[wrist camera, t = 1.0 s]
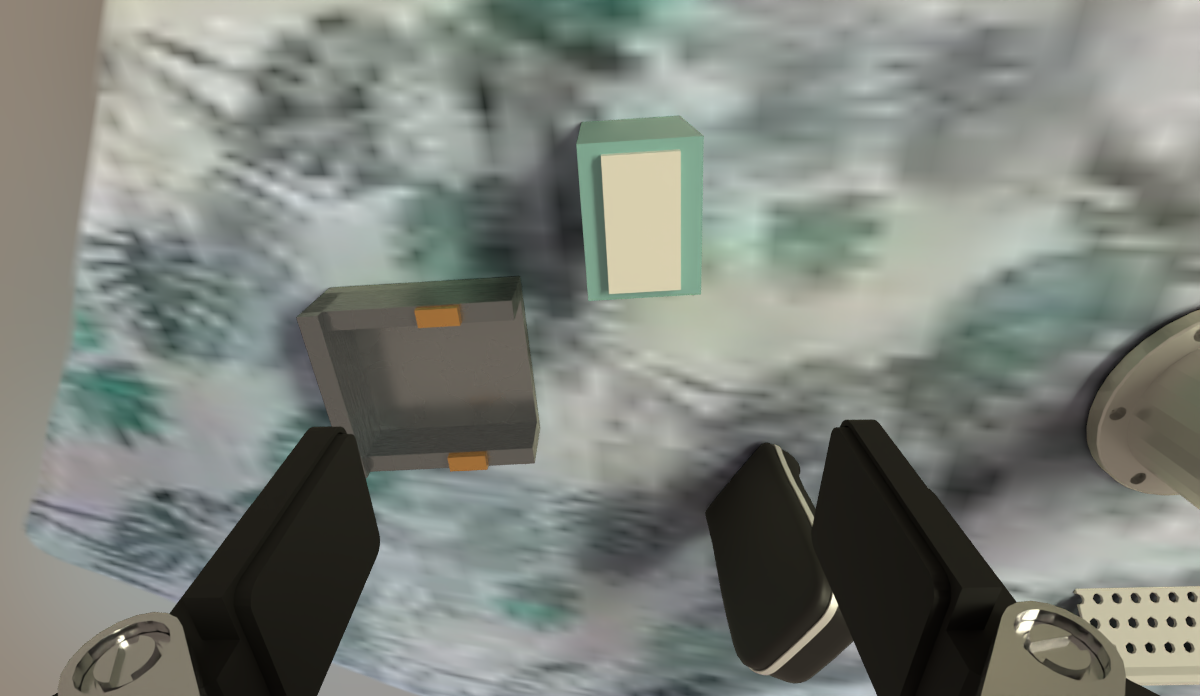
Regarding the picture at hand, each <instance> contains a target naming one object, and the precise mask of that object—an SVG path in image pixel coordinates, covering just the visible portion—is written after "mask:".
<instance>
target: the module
mask: <svg viewBox="0 0 1200 696" xmlns="http://www.w3.org/2000/svg"><path fill="white" fill-rule="evenodd" d="M703 139H704V136H703V135H702V134H701V133H700V132H698V131H697V130H696V129H695V128H694V127H693V126H691V125H690V124H689V123H688V122H687V121H685V120H684V119H683V118H682V117H681V116H666V117H651V118H636V119H622V120H607V121H592V122H582V123H581V127H580V131H579V135H578V139H577V143H576V148H577V161H578V173H579V186H580V199H581V212H582V225H583V238H584V251H585V264H586V277H587V289H588V301H595V300H612V299H629V298H646V297H663V296H681V295H698V294H701V264H702V201H703Z"/></svg>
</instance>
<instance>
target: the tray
mask: <svg viewBox="0 0 1200 696" xmlns="http://www.w3.org/2000/svg"><path fill="white" fill-rule="evenodd" d="M296 318H297V321H298V324H299V327H300V330H301V334H302V337H303V340H304V343H305V346H306V349H307V352H308V355H309V358H310V361H311V364H312V367H313V370H314V373H315V376H316V380H317V383H318V386H319V389H320V392H321V395H322V398H323V401H324V404H325V407H326V410H327V413H328V416H329V419H330V422H331V425H332V427H339V426H341V427H343V428H344V429H345V430H346V432H347V434H353V435H354V436H355V438H356V441H357V445H358V449H359V454H360V458H361V462H362V466H363V470H364V474H365V478H367V477H368V475H369V473H370V472H373V471H392V470H412V469H432V468H450V471H469V470H487V469H488V466H491V465H511V464H530V463H535V458H536V452H537V445H538V439H539V433H540V423H539V415H538V408H537V400H536V392H535V385H534V377H533V370H532V362H531V355H530V347H529V340H528V332H527V324H526V317H525V309H524V302H523V294H522V287H521V279H520V276H515V277H498V278H482V279H465V280H448V281H432V282H415V283H398V284H382V285H365V286H348V287H332V288H329V289H328V290H326V291H325V292H324V293H323V294H322V295H321V296H320V297H319V298H317V299H316V300H315V301H314V302H313V303H312V304H311V305H310V306H308V307H307V308H306V309H305V310H304V311H303V312H302V313H301V314H299V315H298V316H297V317H296Z"/></svg>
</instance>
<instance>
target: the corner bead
mask: <svg viewBox="0 0 1200 696" xmlns="http://www.w3.org/2000/svg"><path fill="white" fill-rule="evenodd" d="M1151 592H1153V593H1154V594H1155V595H1156V596H1157V602H1156V603H1154V602H1152V601H1151V600H1150V596H1149V595H1150V594H1151ZM1170 592H1172V593H1174V595H1175V596H1176V600H1175V602H1172V601H1170V600H1169V596H1168V594H1169V593H1170ZM1188 592H1192V593H1193V595H1194V596H1195V599H1194V602H1191V601H1190V600H1188V596H1187V594H1188ZM1114 593H1116V594H1117V595H1118V597H1119V598H1120V600H1119V603H1115V602H1113V600H1112V595H1113V594H1114ZM1132 593H1135V594H1136V595H1137V596H1138V603H1134V602H1133V601H1132V600H1131V596H1130V595H1131V594H1132ZM1074 594H1079V595H1080V596H1081V597H1082V603H1081V604H1077V607H1078V611H1079V615H1080V618H1082V619H1084V620H1086V621H1087V622H1088V623H1090V620H1091V619H1092V618H1094V619H1096V620H1097V622H1098V627H1097V628H1096V629H1098V630H1099V631H1100V632H1101V633H1102V634H1103V635H1104V636H1105V637H1106V638H1107V639H1108V640H1109V641H1110V642H1111V643H1112V644H1113V645H1114V646H1115V648H1116V649H1117V651H1118V653H1119V654H1120V656H1121V658H1122V659H1123V662H1124V667H1125V672H1126V678H1127V679H1129V680H1131V681H1133V682H1135V683H1137V684H1138V685H1194V684H1200V586H1197V587H1149V588H1100V589H1075V591H1074ZM1094 594H1098V595H1099V596H1100V598H1101V602H1100V603H1099V604H1096V602H1095V601H1094V600H1093V596H1094ZM1188 616H1189V617H1190V618H1192V621H1193V623H1194V624H1193V625H1192V626H1191V627H1190V626H1188V625H1187V624H1186V620H1185V619H1186V618H1187V617H1188ZM1131 617H1132V618H1133V619H1135V622H1136V626H1135V628H1132V627H1131V626H1129V623H1128V619H1130V618H1131ZM1149 617H1151V618H1152V619H1154V621H1155V626H1154V627H1150V626H1149V625H1148V622H1147V619H1148V618H1149ZM1168 617H1170V618H1172V619H1173V620H1174V626H1173V627H1170V626H1168V624H1167V621H1166V619H1167V618H1168ZM1111 618H1113V619H1115V620H1116V621H1117V626H1116V628H1112V627H1111V626H1110V624H1109V620H1110V619H1111ZM1148 642H1149V643H1150V644H1151V645H1152V647H1153V651H1152V652H1151V653H1149V652H1147V651H1146V648H1145V644H1147V643H1148ZM1167 642H1169V643H1170V644H1171V646H1172V651H1171V652H1167V651H1166V650H1165V647H1164V644H1165V643H1167ZM1185 642H1188V643H1190V645H1191V648H1192V649H1191V651H1190V652H1187V651H1186V650H1185V648H1184V645H1183V644H1184V643H1185ZM1128 643H1131V644H1132V645H1133V649H1134V651H1133V652H1132V653H1129V652H1127V649H1126V646H1125V645H1127V644H1128Z"/></svg>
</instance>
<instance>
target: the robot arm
mask: <svg viewBox="0 0 1200 696" xmlns="http://www.w3.org/2000/svg"><path fill="white" fill-rule="evenodd" d="M1086 429H1087V443H1088V446H1089V449H1090V452H1091V455H1092V457H1093V458H1094V460H1095V461H1096V462H1097V464H1098V465H1099V466H1100V468H1102V469H1103V470H1104V471H1105V472H1107V473H1108V474H1109V475H1110V476H1111V477H1112V478H1114V479H1115V480H1116V481H1117V482H1119V483H1121V484H1122V485H1124V486H1126V487H1128V488H1130V489H1133V490H1136V491H1140V492H1143V493H1147V494H1157V495H1181V496H1182V497H1184V498H1185V499H1186V500H1187V501H1189V502H1190V503H1191V504H1193V505H1194V506H1195V507H1197V508H1198V509H1199V510H1200V310H1197V311H1195V312H1192V313H1190V314H1188V315H1186V316H1184V317H1182V318H1180V319H1178V320H1176V321H1174V322H1172V323H1170V324H1168V325H1166V326H1164V327H1163V328H1161V329H1160V330H1158V331H1157V332H1155V333H1154V334H1152V335H1151V336H1149V337H1148V338H1146V339H1145V340H1144V341H1142V342H1141V343H1140V344H1139V345H1138V346H1137V347H1135V348H1134V349H1133V350H1132V351H1131V352H1130V353H1128V354H1127V355H1126V356H1125V357H1124V358H1123V359H1122V360H1121V362H1120V363H1119V364H1118V365H1117V366H1116V367H1115V368H1114V369H1113V370H1112V372H1111V373H1110V374H1109V375H1108V377H1107V378H1106V380H1105V382H1104V383H1103V385H1102V386H1101V388H1100V389H1099V391H1098V392H1097V395H1096V397H1095V399H1094V402H1093V404H1092V406H1091V409H1090V412H1089V417H1088V422H1087V427H1086ZM811 537H812V544H813V548H814V550H815V553H816V555H817V557H818V560H819V562H820V564H821V567H822V569H823V571H824V574H825V576H826V578H827V581H828V583H829V585H830V587H831V590H832V592H833V594H834V597H835V599H836V601H837V604H838V606H839V608H840V611H841V613H842V615H843V617H844V620H845V622H846V624H847V627H848V629H849V631H850V634H851V636H852V638H853V641H854V643H855V645H856V648H857V650H858V652H859V654H860V657H861V659H862V661H863V664H864V666H865V668H866V671H867V673H868V675H869V678H870V680H871V682H872V684H873V687H874V689H875V691H876V694H877V696H1159V695H1158V694H1156V693H1154V692H1152V691H1150V690H1148V689H1146V688H1144V687H1142V686H1140V685H1138V684H1137V683H1135V682H1133V681H1131V680H1129V679H1127V678H1126V672H1125V667H1124V662H1123V659H1122V658H1121V656H1120V654H1119V653H1118V651H1117V649H1116V648H1115V646H1114V645H1113V644H1112V643H1111V642H1110V641H1109V640H1108V639H1107V638H1106V637H1105V636H1104V635H1103V634H1102V633H1101V632H1100V631H1099V630H1098V629H1096V628H1095V627H1094V626H1092V625H1091V624H1090V623H1088V622H1087V621H1086V620H1084V619H1082V618H1080V617H1079V616H1077V615H1075V614H1073V613H1071V612H1069V611H1067V610H1065V609H1062V608H1059V607H1057V606H1054V605H1051V604H1048V603H1042V602H1036V601H1024V602H1016V601H1015V599H1014V598H1013V597H1012V595H1011V594H1010V593H1009V591H1008V590H1007V589H1006V587H1005V586H1004V585H1003V584H1002V582H1001V581H1000V580H999V578H998V577H997V576H996V574H995V573H994V572H993V570H992V569H991V568H990V566H989V565H988V564H987V562H986V561H985V560H984V558H983V557H982V556H981V554H980V553H979V552H978V550H977V549H976V548H975V546H974V545H973V544H972V543H971V541H970V540H969V539H968V537H967V536H966V535H965V533H964V532H963V531H962V529H961V528H960V527H959V525H958V524H957V523H956V521H955V520H954V519H953V517H952V516H951V515H950V513H949V512H948V511H947V509H946V508H945V507H944V505H943V504H942V503H941V501H940V500H939V499H938V498H937V496H936V495H935V494H934V493H933V492H932V491H931V490H930V489H928V488H927V486H926V485H925V484H924V482H923V481H922V480H921V478H920V477H919V476H918V474H917V473H916V472H915V470H914V469H913V468H912V466H911V465H910V464H909V462H908V461H907V460H906V458H905V457H904V456H903V454H902V453H901V452H900V450H899V449H898V448H897V446H896V445H895V444H894V442H893V441H892V440H891V438H890V437H889V436H888V434H887V433H886V432H885V430H884V429H883V428H882V426H881V425H880V424H879V423H878V422H877V421H876V420H845V421H843V422H842V424H841V426H840V427H836V428H834V429H833V430H832V433H831V437H830V442H829V447H828V452H827V457H826V462H825V466H824V471H823V476H822V481H821V486H820V491H819V496H818V501H817V506H816V511H815V515H814V520H813V525H812V531H811ZM379 547H380V536H379V531H378V527H377V523H376V519H375V515H374V511H373V506H372V502H371V498H370V494H369V490H368V486H367V482H366V478H365V474H364V470H363V466H362V462H361V458H360V454H359V449H358V445H357V441H356V438H355V436H354V435H353V434H347V432H346V430H345V429H344V428H343V427H341V426H339V427H311V428H310V429H309V430H307V432H306V433H305V434H304V436H303V437H302V438H301V440H300V441H299V442H298V444H297V445H296V446H295V448H294V449H293V450H292V452H291V453H290V454H289V456H288V457H287V458H286V460H285V461H284V462H283V464H282V465H281V466H280V468H279V469H278V470H277V472H276V473H275V474H274V476H273V477H272V478H271V480H270V481H269V482H268V484H267V485H266V486H265V488H264V489H263V490H262V492H261V493H260V494H259V496H258V497H257V498H256V500H255V501H254V502H253V503H252V504H251V506H250V507H249V508H248V510H247V511H246V512H245V514H244V515H243V516H242V518H241V519H240V520H239V522H238V523H237V524H236V526H235V527H234V528H233V530H232V531H231V532H230V534H229V535H228V536H227V538H226V539H225V540H224V542H223V543H222V544H221V546H220V547H219V548H218V550H217V551H216V552H215V554H214V555H213V556H212V558H211V559H210V560H209V562H208V563H207V564H206V566H205V567H204V568H203V570H202V571H201V572H200V574H199V575H198V576H197V578H196V579H195V580H194V582H193V583H192V584H191V586H190V587H189V588H188V590H187V591H186V592H185V594H184V595H183V596H182V598H181V599H180V600H179V602H178V603H177V604H176V606H175V607H174V608H173V610H172V611H171V612H170V614H168V613H158V612H152V613H146V614H141V615H136V616H133V617H131V618H128V619H125V620H123V621H120V622H118V623H116V624H114V625H112V626H111V627H109V628H107V629H105V630H103V631H102V632H100V633H99V634H97V635H96V636H95V637H93V638H92V639H91V640H89V641H88V642H87V643H85V644H84V645H83V646H82V647H81V648H80V649H79V650H78V651H77V652H76V653H75V654H74V655H73V657H72V658H71V659H70V660H69V661H68V663H67V665H66V666H65V668H64V670H63V671H62V673H61V676H60V680H59V685H58V693H56V694H55V695H53V696H317V695H318V692H319V690H320V688H321V685H322V683H323V681H324V678H325V676H326V674H327V671H328V669H329V667H330V665H331V662H332V660H333V658H334V655H335V653H336V651H337V648H338V646H339V644H340V641H341V639H342V637H343V634H344V632H345V630H346V627H347V625H348V623H349V620H350V618H351V616H352V613H353V611H354V609H355V606H356V604H357V602H358V599H359V597H360V595H361V592H362V590H363V588H364V585H365V583H366V581H367V578H368V576H369V574H370V571H371V569H372V567H373V564H374V562H375V560H376V557H377V555H378V552H379Z"/></svg>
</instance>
